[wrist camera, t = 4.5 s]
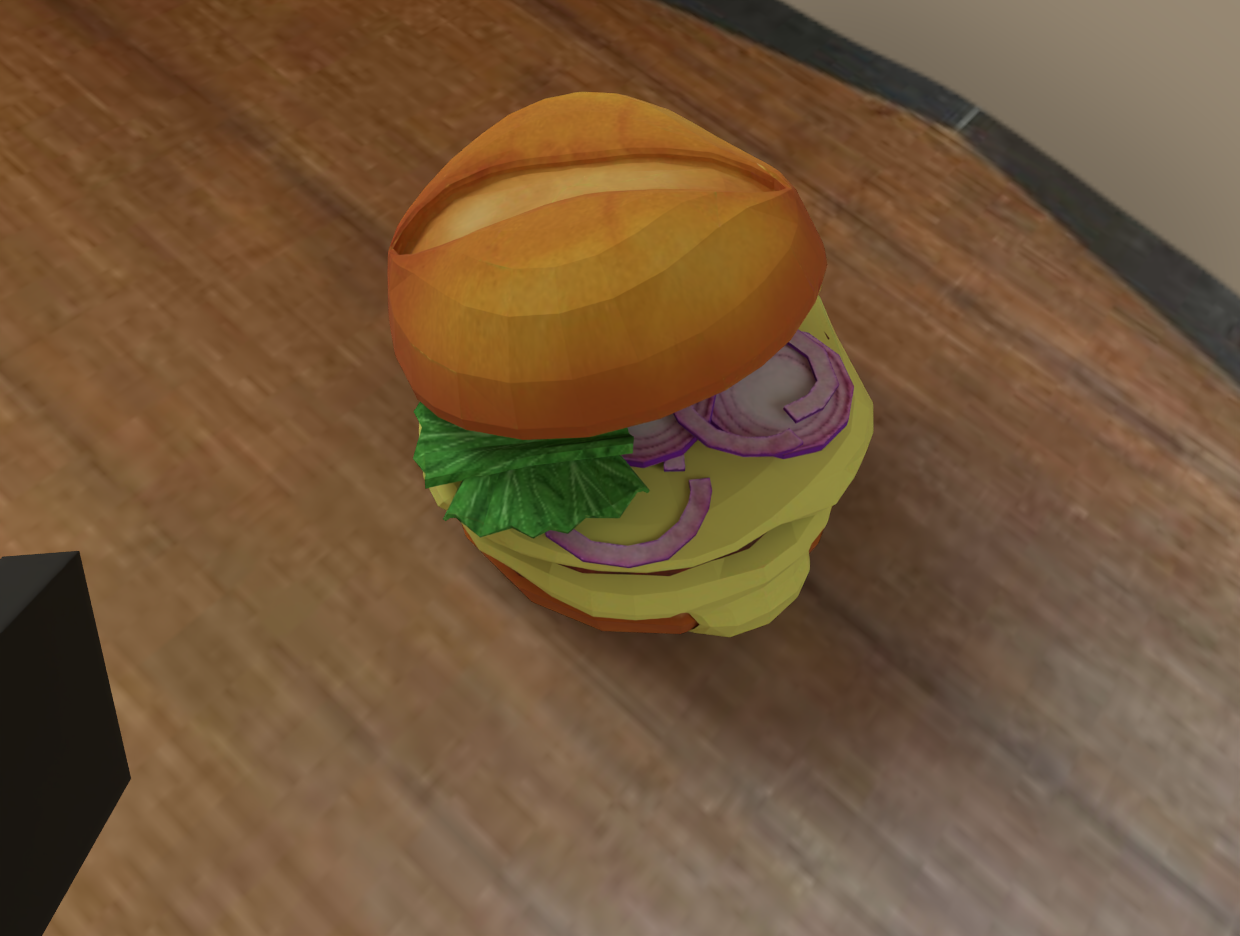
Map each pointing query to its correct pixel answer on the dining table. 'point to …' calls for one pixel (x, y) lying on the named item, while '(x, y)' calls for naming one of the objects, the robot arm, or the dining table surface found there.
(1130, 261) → the dining table surface
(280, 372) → the dining table surface
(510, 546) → the cheeseburger
